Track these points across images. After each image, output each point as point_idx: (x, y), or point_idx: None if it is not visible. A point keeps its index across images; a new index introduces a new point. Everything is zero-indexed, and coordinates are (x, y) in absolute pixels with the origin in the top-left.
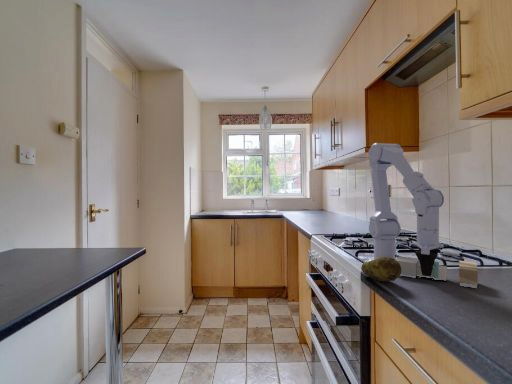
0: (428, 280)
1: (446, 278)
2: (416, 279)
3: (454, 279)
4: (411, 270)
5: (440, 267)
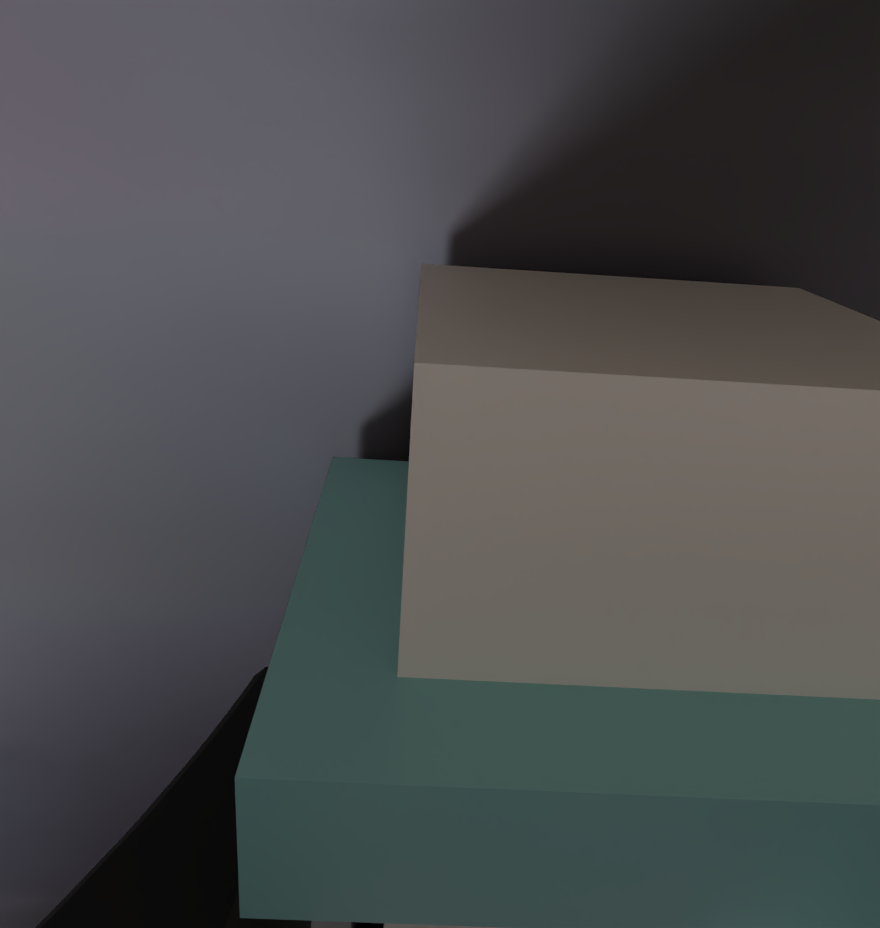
0: None
1: (753, 297)
2: None
3: (282, 38)
4: None
5: (784, 624)
